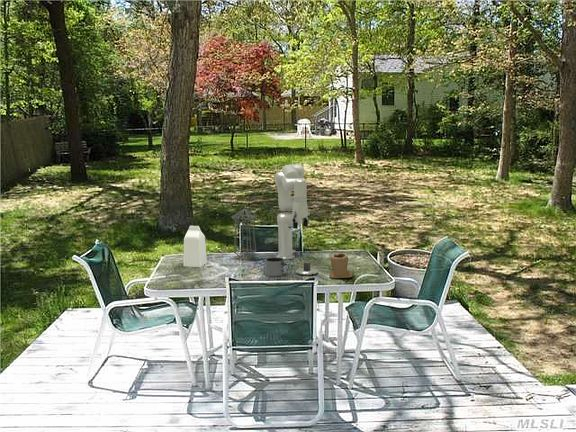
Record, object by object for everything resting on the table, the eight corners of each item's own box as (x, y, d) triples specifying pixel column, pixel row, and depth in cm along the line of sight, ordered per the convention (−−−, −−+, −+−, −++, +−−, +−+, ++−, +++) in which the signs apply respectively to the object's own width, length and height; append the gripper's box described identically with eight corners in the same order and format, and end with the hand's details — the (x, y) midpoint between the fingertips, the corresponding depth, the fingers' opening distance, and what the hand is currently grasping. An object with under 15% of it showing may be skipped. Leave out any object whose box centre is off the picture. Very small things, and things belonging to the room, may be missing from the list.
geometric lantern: (230, 259, 380) (229, 209, 375) (239, 255, 395) (238, 206, 390) (252, 261, 376) (251, 210, 371) (260, 256, 391) (259, 207, 385)
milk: (183, 266, 364) (182, 227, 360) (190, 262, 375) (189, 224, 371) (200, 267, 361) (199, 227, 357) (207, 263, 372) (206, 224, 368)
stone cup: (330, 280, 327) (330, 255, 325) (328, 275, 339) (328, 251, 337) (355, 280, 327) (355, 255, 325) (353, 275, 339) (353, 251, 337)
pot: (269, 269, 353) (269, 256, 351) (291, 273, 343) (291, 259, 342) (258, 274, 343) (257, 259, 342) (280, 277, 334) (280, 263, 332)
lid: (303, 269, 353) (303, 259, 352) (322, 272, 346) (322, 261, 344) (291, 274, 342) (291, 263, 341) (310, 277, 335) (310, 266, 333)
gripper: (304, 198, 346) (304, 225, 349) (286, 200, 333) (286, 228, 336) (314, 198, 341) (314, 226, 344) (296, 201, 329) (296, 230, 331)
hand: (300, 227), depth 340 cm, fingers open, 9 cm apart
